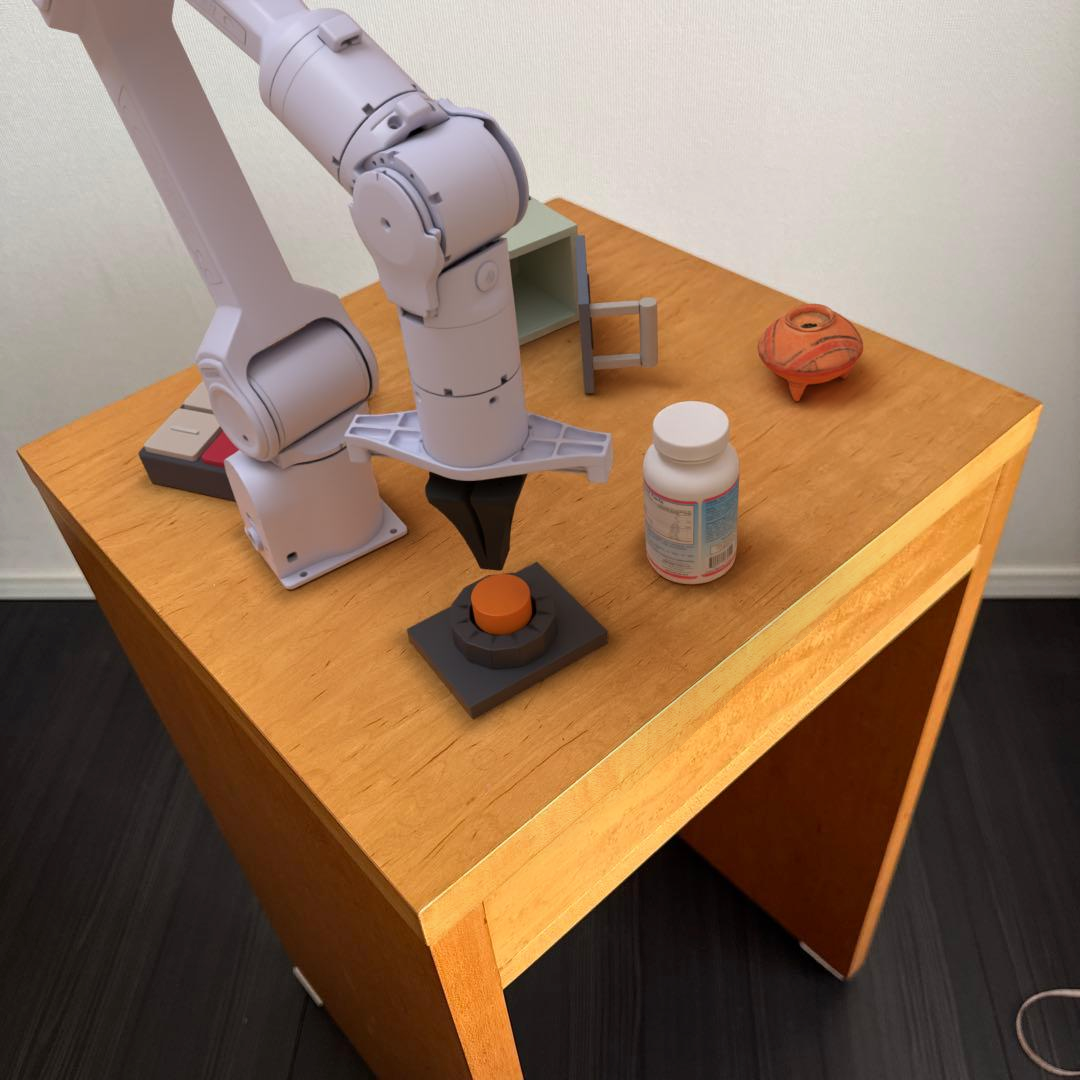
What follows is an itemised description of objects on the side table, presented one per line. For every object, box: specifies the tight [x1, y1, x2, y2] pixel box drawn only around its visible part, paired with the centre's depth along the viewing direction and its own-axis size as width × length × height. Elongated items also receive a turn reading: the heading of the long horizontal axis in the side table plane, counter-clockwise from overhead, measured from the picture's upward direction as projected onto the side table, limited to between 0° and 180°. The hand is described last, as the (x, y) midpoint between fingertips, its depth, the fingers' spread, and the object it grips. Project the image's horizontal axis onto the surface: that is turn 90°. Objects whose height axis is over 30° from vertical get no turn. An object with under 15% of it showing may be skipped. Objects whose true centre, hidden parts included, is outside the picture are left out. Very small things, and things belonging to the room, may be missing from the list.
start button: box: [471, 573, 532, 635], centre depth 69 cm, size 4×4×2 cm
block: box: [406, 561, 609, 720], centre depth 70 cm, size 10×8×3 cm
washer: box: [501, 194, 579, 347], centre depth 97 cm, size 12×10×9 cm
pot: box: [756, 303, 864, 402], centre depth 87 cm, size 8×8×7 cm
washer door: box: [575, 234, 659, 394], centre depth 91 cm, size 11×6×8 cm, turn 0°
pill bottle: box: [642, 400, 740, 585], centre depth 72 cm, size 6×6×11 cm
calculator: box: [138, 345, 269, 502], centre depth 89 cm, size 11×4×15 cm
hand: (494, 558), depth 66 cm, fingers closed
